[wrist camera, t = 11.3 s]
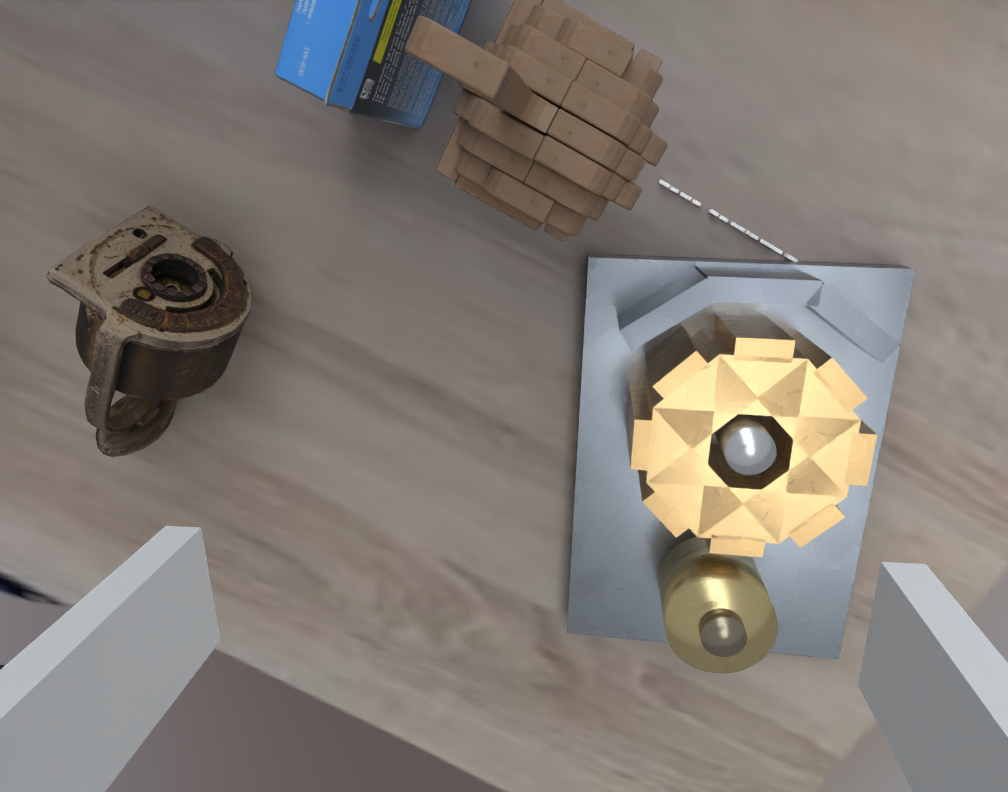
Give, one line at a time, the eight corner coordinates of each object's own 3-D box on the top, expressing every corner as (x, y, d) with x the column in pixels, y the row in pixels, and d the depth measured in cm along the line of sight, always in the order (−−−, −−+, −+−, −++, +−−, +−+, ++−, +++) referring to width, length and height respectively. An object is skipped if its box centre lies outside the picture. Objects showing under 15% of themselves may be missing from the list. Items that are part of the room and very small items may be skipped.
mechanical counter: (314, 244, 35) (207, 270, 25) (258, 465, 39) (149, 558, 29) (178, 194, 35) (23, 201, 25) (137, 419, 39) (-10, 497, 30)
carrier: (588, 254, 33) (586, 271, 27) (901, 265, 32) (974, 286, 25) (568, 616, 39) (562, 698, 33) (829, 641, 38) (874, 732, 31)
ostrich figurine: (470, 171, 33) (335, 166, 16) (538, 30, 31) (465, -146, 14) (778, 343, 34) (960, 513, 17) (866, 217, 32) (1178, 265, 15)
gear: (635, 310, 32) (641, 332, 27) (849, 319, 31) (894, 345, 26) (620, 496, 35) (624, 546, 30) (816, 510, 34) (852, 564, 29)
